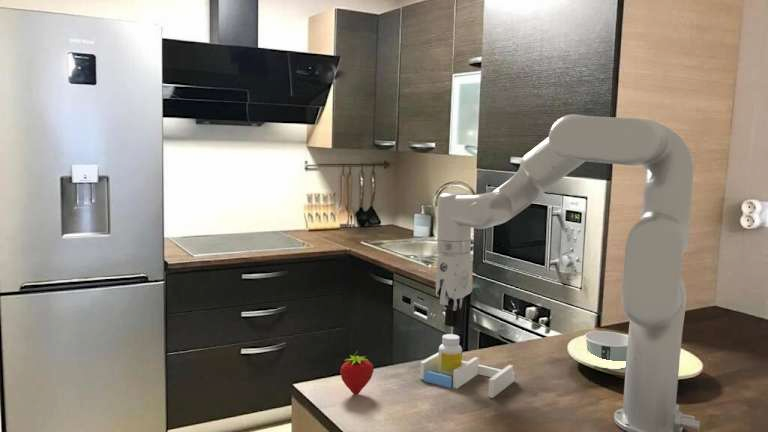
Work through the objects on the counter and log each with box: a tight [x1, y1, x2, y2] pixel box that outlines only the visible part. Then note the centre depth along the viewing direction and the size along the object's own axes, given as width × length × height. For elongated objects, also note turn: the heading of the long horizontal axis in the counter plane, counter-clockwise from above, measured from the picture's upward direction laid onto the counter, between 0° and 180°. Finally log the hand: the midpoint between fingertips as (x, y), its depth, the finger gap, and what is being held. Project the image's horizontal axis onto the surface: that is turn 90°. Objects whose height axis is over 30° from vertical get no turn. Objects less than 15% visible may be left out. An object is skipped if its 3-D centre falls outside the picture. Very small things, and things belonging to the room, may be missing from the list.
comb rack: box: [419, 351, 516, 399], centre depth 148 cm, size 18×13×4 cm
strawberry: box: [339, 350, 375, 395], centre depth 139 cm, size 6×8×10 cm
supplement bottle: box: [437, 333, 463, 382], centre depth 150 cm, size 5×5×10 cm
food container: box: [583, 330, 628, 361], centre depth 162 cm, size 12×12×6 cm
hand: (452, 325), depth 149 cm, fingers closed
